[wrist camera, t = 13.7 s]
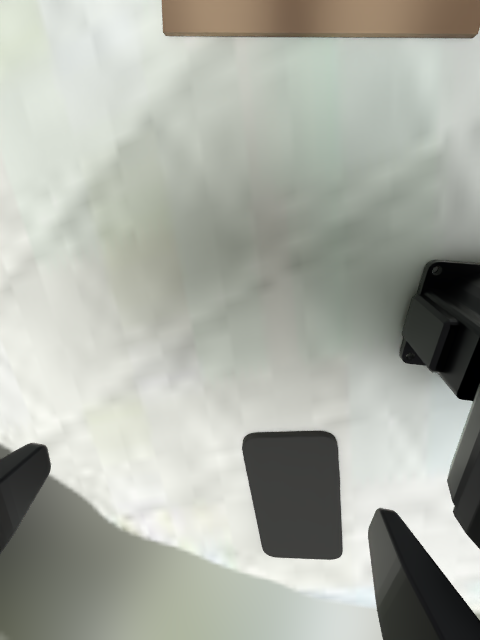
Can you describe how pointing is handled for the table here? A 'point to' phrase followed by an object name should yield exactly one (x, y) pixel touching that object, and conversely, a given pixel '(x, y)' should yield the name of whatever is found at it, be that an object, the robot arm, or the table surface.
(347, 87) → the table surface
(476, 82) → the table surface
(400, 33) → the marked board
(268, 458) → the phone
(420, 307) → the robot arm
